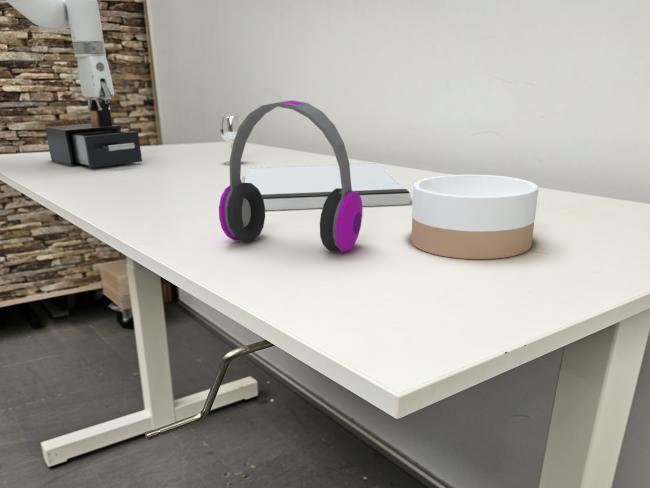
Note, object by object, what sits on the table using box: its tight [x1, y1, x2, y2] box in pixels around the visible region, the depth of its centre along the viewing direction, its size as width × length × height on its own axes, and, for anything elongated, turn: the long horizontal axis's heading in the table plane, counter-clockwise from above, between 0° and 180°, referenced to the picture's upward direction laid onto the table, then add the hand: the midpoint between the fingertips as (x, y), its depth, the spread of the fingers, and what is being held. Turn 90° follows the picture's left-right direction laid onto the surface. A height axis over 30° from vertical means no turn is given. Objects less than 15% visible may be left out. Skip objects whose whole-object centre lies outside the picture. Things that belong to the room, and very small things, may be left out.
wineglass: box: [219, 115, 243, 166], centre depth 160 cm, size 6×6×12 cm
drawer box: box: [44, 123, 122, 168], centre depth 172 cm, size 15×16×10 cm
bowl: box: [411, 174, 539, 260], centre depth 87 cm, size 17×17×8 cm
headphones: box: [218, 99, 364, 253], centre depth 85 cm, size 21×9×20 cm, turn 66°
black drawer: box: [69, 130, 143, 169], centre depth 162 cm, size 18×14×8 cm
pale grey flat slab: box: [243, 162, 412, 211], centre depth 127 cm, size 35×2×31 cm
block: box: [88, 110, 114, 127], centre depth 160 cm, size 4×4×4 cm
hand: (102, 125), depth 161 cm, fingers closed on block, 4 cm apart
